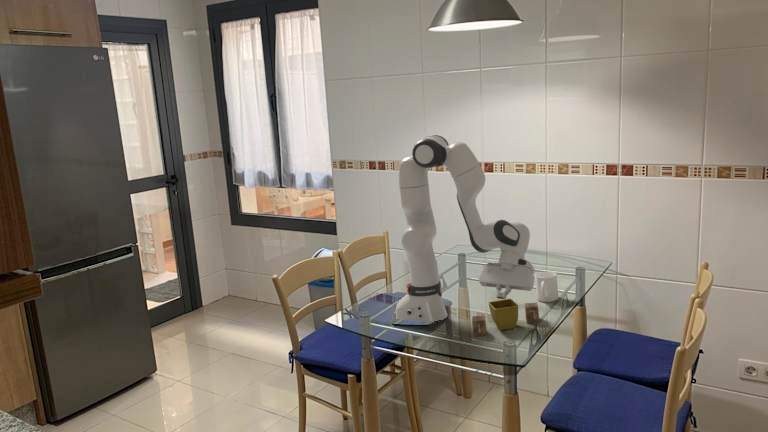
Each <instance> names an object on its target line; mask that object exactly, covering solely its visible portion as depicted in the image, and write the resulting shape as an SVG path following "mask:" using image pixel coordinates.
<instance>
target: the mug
mask: <svg viewBox="0 0 768 432" xmlns="http://www.w3.org/2000/svg"><path fill="white" fill-rule="evenodd" d="M534 282H535V291H536V298H537V299H536V300H538V302H541V303H553V301H554V302H556V301H558V299H559V289H558V275H557V273H556V272H555V271H554V272H553V271H541V272H537V273H534ZM555 300H556V301H555Z"/></svg>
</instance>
